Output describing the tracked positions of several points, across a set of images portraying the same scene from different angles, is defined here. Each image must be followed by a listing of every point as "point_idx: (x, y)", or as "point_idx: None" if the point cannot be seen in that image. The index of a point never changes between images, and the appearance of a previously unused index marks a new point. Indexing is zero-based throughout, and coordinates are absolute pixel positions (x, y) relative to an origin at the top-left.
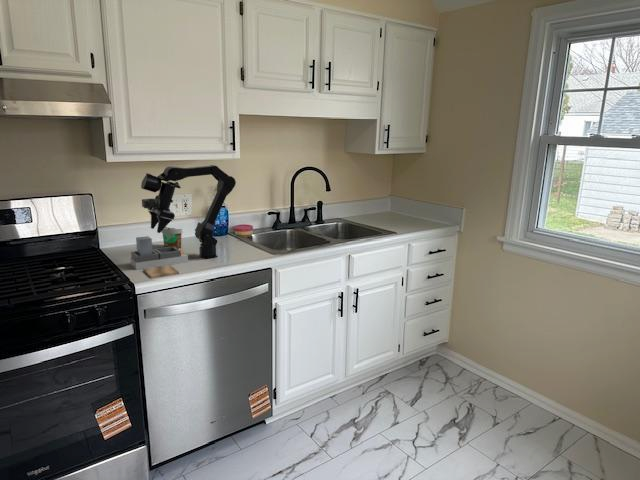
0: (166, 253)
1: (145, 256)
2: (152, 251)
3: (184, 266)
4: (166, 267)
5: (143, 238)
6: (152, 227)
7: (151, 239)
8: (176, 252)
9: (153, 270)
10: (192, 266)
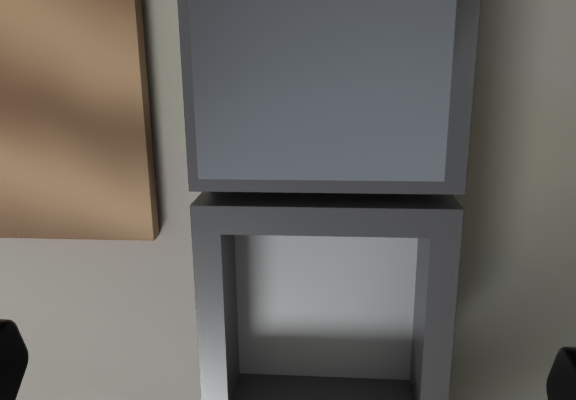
0: (196, 278)
1: (182, 18)
2: None
3: (118, 339)
4: (88, 188)
5: (283, 35)
6: (560, 388)
7: (204, 171)
8: (203, 381)
9: (42, 50)
10: (89, 389)
